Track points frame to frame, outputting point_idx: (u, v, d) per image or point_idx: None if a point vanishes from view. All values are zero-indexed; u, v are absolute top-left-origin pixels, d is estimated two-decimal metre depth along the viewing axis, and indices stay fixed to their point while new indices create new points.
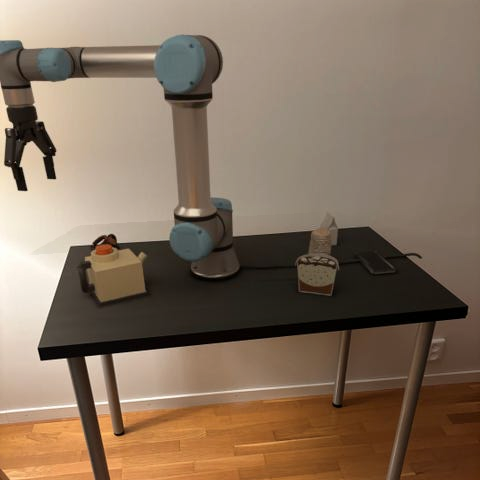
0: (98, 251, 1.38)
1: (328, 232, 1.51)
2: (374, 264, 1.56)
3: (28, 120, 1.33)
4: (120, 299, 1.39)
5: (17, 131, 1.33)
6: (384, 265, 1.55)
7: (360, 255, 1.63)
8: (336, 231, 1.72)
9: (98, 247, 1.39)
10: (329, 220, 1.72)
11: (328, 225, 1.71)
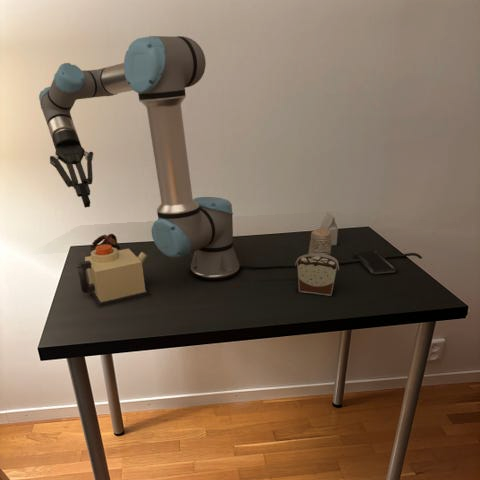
0: (98, 251, 1.38)
1: (328, 232, 1.51)
2: (374, 264, 1.56)
3: (61, 140, 1.45)
4: (120, 299, 1.39)
5: None
6: (384, 265, 1.55)
7: (360, 255, 1.63)
8: (336, 231, 1.72)
9: (98, 247, 1.39)
10: (329, 220, 1.72)
11: (328, 225, 1.71)
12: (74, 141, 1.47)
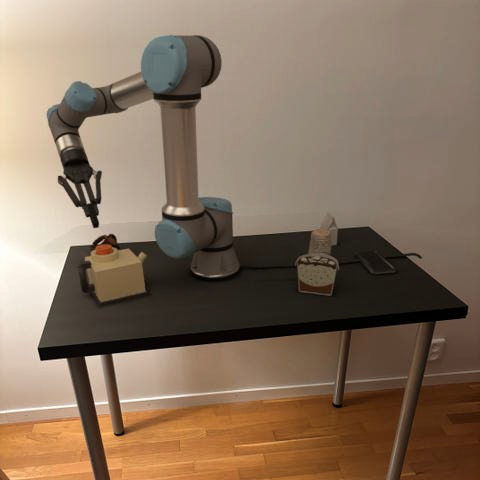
0: (98, 251, 1.38)
1: (328, 232, 1.51)
2: (374, 264, 1.56)
3: (69, 159, 1.41)
4: (120, 299, 1.39)
5: (63, 173, 1.42)
6: (384, 265, 1.55)
7: (360, 255, 1.63)
8: (336, 231, 1.72)
9: (98, 247, 1.39)
10: (329, 220, 1.72)
11: (328, 225, 1.71)
12: (82, 160, 1.43)
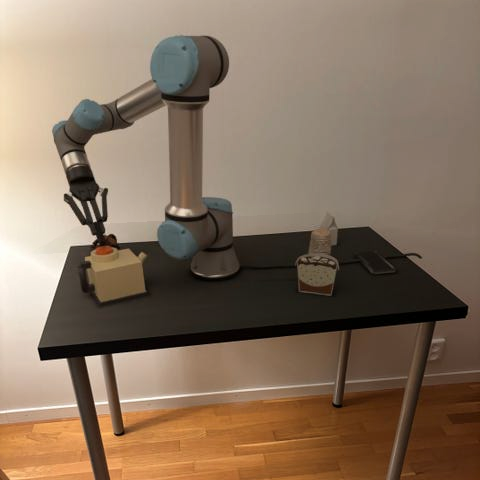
0: (98, 252, 1.38)
1: (328, 232, 1.51)
2: (374, 264, 1.56)
3: (75, 177, 1.40)
4: (120, 299, 1.39)
5: (69, 190, 1.40)
6: (384, 265, 1.55)
7: (360, 255, 1.63)
8: (336, 231, 1.72)
9: (98, 248, 1.40)
10: (329, 220, 1.72)
11: (328, 225, 1.71)
12: (89, 177, 1.42)
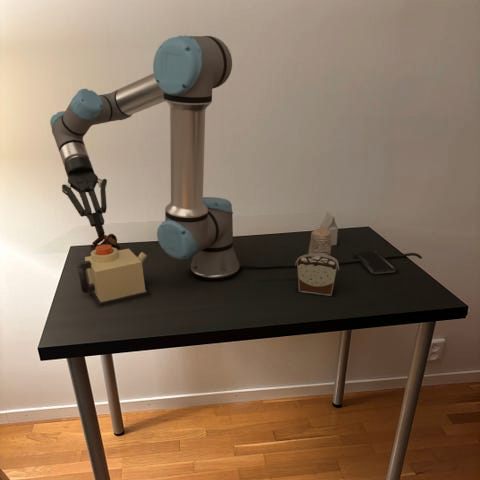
0: (98, 251, 1.38)
1: (328, 232, 1.51)
2: (374, 264, 1.56)
3: (73, 167, 1.38)
4: (120, 299, 1.39)
5: (68, 181, 1.39)
6: (384, 265, 1.55)
7: (360, 255, 1.63)
8: (336, 231, 1.72)
9: (98, 247, 1.39)
10: (329, 220, 1.72)
11: (328, 225, 1.71)
12: (87, 168, 1.40)
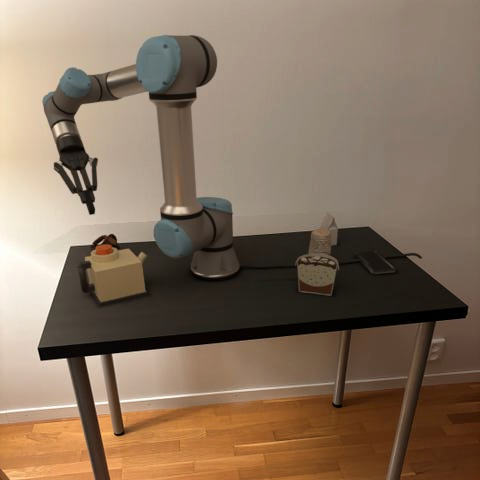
0: (98, 251, 1.38)
1: (328, 232, 1.51)
2: (374, 264, 1.56)
3: (65, 146, 1.41)
4: (120, 299, 1.39)
5: (59, 159, 1.42)
6: (384, 265, 1.55)
7: (360, 255, 1.63)
8: (336, 231, 1.72)
9: (98, 247, 1.39)
10: (329, 220, 1.72)
11: (328, 225, 1.71)
12: (78, 147, 1.43)
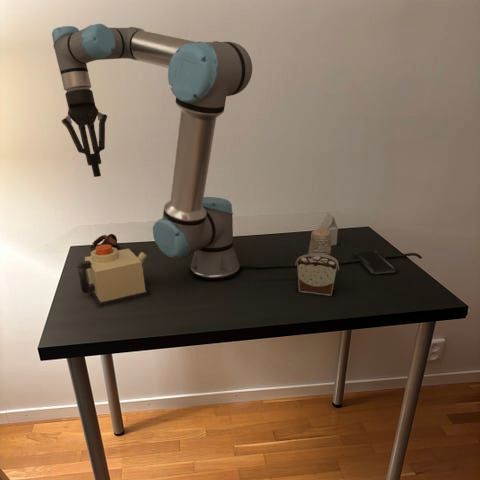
0: (98, 251, 1.38)
1: (328, 232, 1.51)
2: (374, 264, 1.56)
3: (76, 102, 1.37)
4: (120, 299, 1.39)
5: (68, 114, 1.39)
6: (384, 265, 1.55)
7: (360, 255, 1.63)
8: (336, 231, 1.72)
9: (98, 247, 1.39)
10: (329, 220, 1.72)
11: (328, 225, 1.71)
12: (89, 103, 1.40)
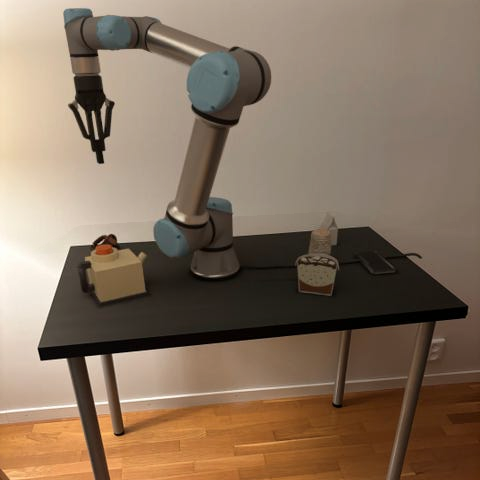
0: (98, 251, 1.38)
1: (328, 232, 1.51)
2: (374, 264, 1.56)
3: (84, 89, 1.34)
4: (120, 299, 1.39)
5: (75, 99, 1.36)
6: (384, 265, 1.55)
7: (360, 255, 1.63)
8: (336, 231, 1.72)
9: (98, 247, 1.39)
10: (329, 220, 1.72)
11: (328, 225, 1.71)
12: (98, 90, 1.36)
